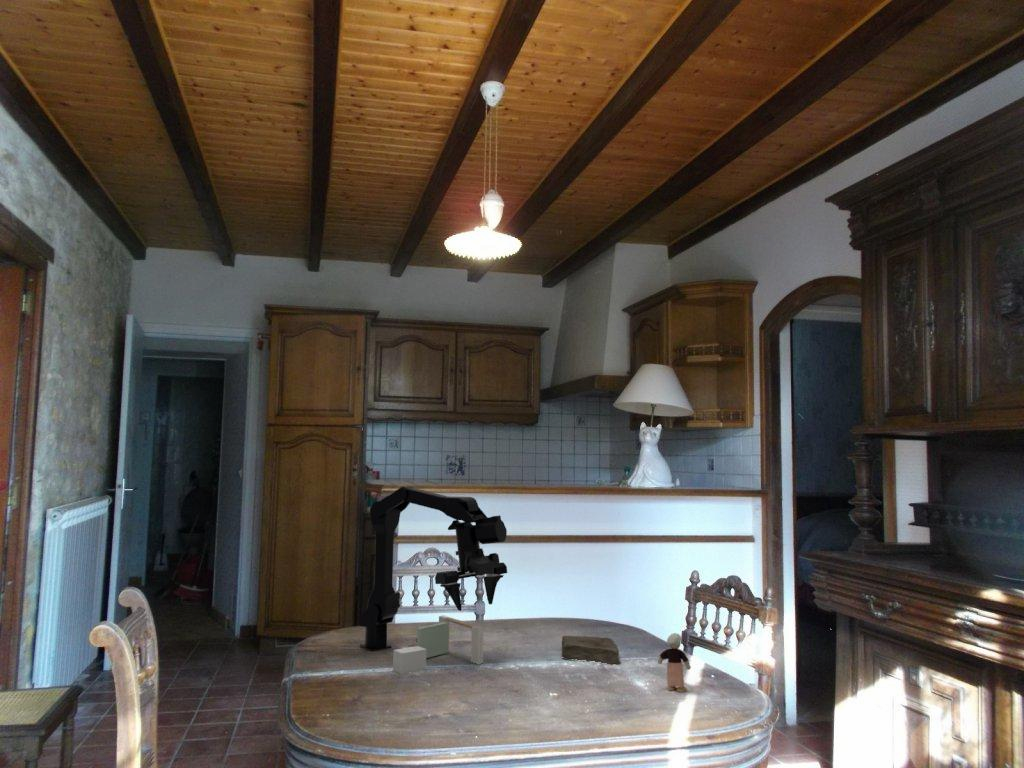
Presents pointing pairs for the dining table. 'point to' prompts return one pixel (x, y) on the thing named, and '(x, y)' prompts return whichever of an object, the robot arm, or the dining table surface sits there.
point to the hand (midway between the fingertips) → (475, 607)
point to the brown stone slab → (590, 649)
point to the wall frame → (475, 640)
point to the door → (433, 639)
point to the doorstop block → (409, 660)
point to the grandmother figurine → (674, 663)
